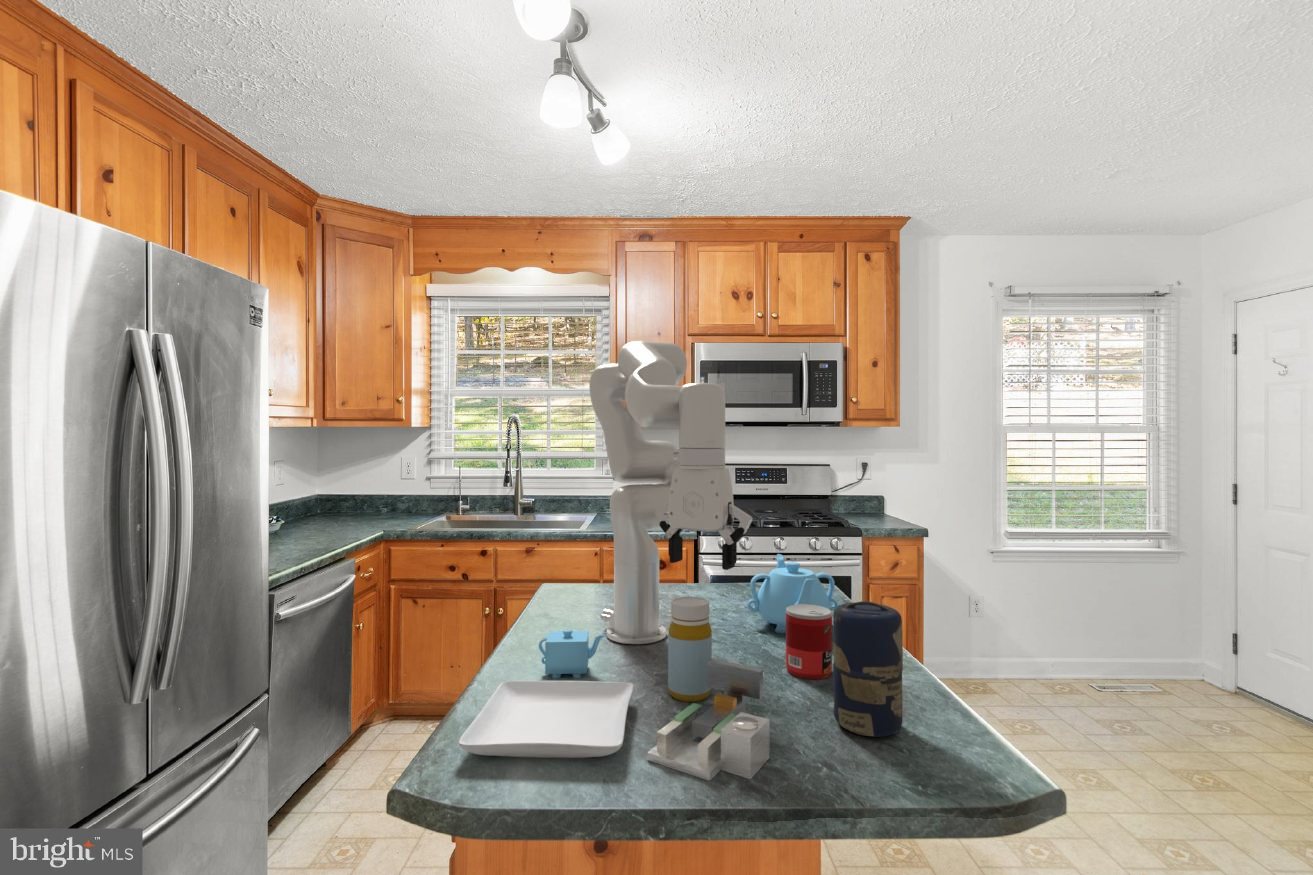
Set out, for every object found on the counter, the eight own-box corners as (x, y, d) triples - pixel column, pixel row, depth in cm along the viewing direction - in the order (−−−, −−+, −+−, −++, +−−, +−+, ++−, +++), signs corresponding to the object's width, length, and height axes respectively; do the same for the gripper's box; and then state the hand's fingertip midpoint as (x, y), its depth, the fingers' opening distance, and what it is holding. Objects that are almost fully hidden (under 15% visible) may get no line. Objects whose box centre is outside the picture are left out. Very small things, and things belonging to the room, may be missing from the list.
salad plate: (501, 699, 99) (501, 677, 99) (634, 701, 98) (634, 679, 98) (454, 770, 78) (454, 742, 78) (622, 773, 77) (622, 745, 77)
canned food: (833, 681, 106) (833, 617, 106) (785, 677, 107) (785, 614, 107) (830, 665, 113) (830, 605, 113) (785, 662, 115) (785, 602, 115)
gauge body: (647, 760, 80) (647, 718, 80) (688, 727, 89) (688, 690, 89) (740, 791, 73) (740, 745, 73) (774, 752, 82) (774, 712, 82)
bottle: (717, 689, 102) (717, 598, 102) (702, 706, 96) (702, 609, 96) (678, 682, 105) (678, 594, 105) (661, 698, 99) (661, 604, 99)
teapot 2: (778, 610, 149) (778, 552, 149) (853, 628, 135) (853, 564, 135) (736, 624, 138) (736, 561, 138) (812, 645, 124) (812, 575, 124)
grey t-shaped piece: (675, 729, 85) (675, 681, 85) (710, 701, 94) (711, 658, 94) (730, 746, 80) (730, 695, 80) (762, 715, 89) (762, 669, 89)
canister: (895, 749, 83) (895, 614, 83) (824, 731, 88) (824, 604, 88) (908, 721, 91) (908, 598, 91) (843, 706, 96) (843, 590, 96)
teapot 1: (607, 665, 113) (607, 624, 113) (606, 678, 107) (606, 634, 107) (540, 666, 112) (540, 625, 112) (536, 680, 106) (536, 636, 106)
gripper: (644, 459, 102) (644, 562, 102) (740, 461, 93) (740, 575, 93) (668, 458, 108) (668, 555, 108) (760, 460, 99) (760, 567, 99)
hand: (701, 564), depth 101 cm, fingers open, 9 cm apart
